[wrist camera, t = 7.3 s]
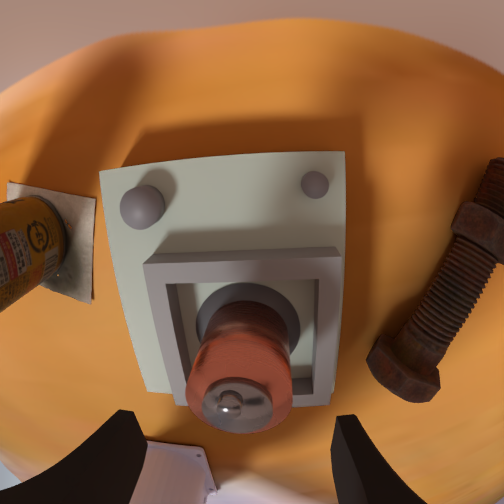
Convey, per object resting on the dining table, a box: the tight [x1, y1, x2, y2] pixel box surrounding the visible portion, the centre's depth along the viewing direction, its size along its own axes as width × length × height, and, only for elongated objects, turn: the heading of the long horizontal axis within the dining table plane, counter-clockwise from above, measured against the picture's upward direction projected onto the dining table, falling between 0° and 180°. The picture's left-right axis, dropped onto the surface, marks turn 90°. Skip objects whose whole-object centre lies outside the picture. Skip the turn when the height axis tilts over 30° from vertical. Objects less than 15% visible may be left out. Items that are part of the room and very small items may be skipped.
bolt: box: [366, 157, 504, 403], centre depth 15 cm, size 6×5×15 cm
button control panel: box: [99, 151, 346, 407], centre depth 16 cm, size 14×12×4 cm
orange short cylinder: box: [185, 300, 293, 434], centre depth 14 cm, size 4×4×6 cm
